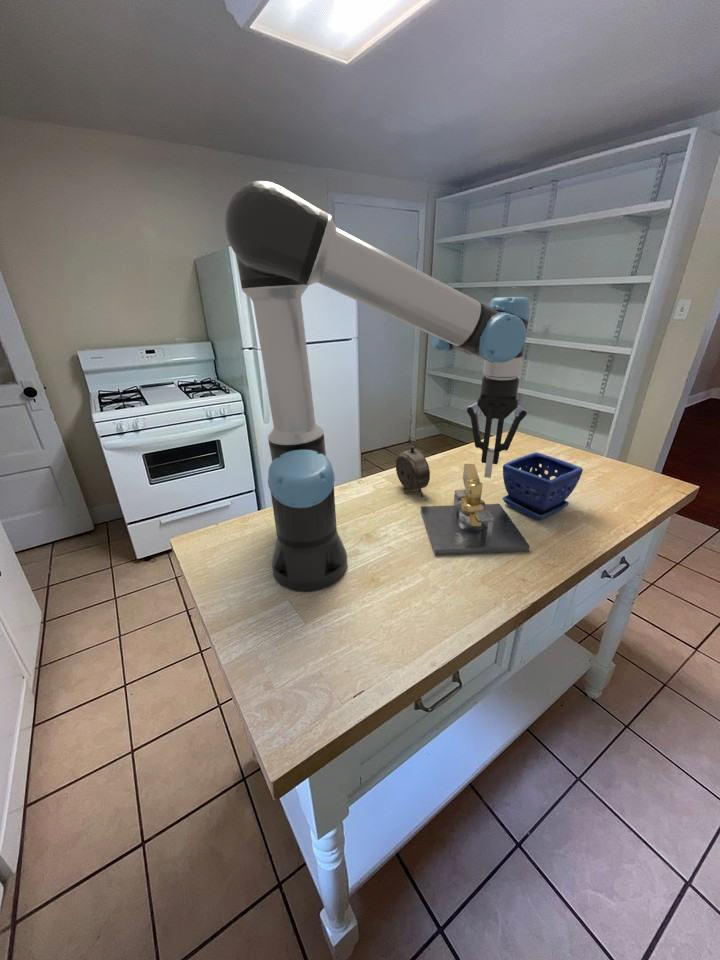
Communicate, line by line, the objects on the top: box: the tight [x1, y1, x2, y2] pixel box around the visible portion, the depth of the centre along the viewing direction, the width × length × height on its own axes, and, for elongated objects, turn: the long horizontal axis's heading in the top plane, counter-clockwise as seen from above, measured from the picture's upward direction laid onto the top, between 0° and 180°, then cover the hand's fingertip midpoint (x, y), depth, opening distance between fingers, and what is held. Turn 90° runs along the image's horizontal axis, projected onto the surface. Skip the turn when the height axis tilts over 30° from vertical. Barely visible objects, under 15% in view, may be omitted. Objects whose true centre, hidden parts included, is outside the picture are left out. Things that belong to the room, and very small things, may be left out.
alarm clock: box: [395, 435, 431, 498], centre depth 103 cm, size 11×5×16 cm, turn 27°
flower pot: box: [502, 451, 584, 521], centre depth 95 cm, size 13×13×12 cm
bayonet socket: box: [420, 489, 531, 556], centre depth 87 cm, size 20×18×7 cm
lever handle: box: [460, 463, 486, 526], centre depth 87 cm, size 17×5×7 cm, turn 172°
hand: (487, 475), depth 93 cm, fingers closed
